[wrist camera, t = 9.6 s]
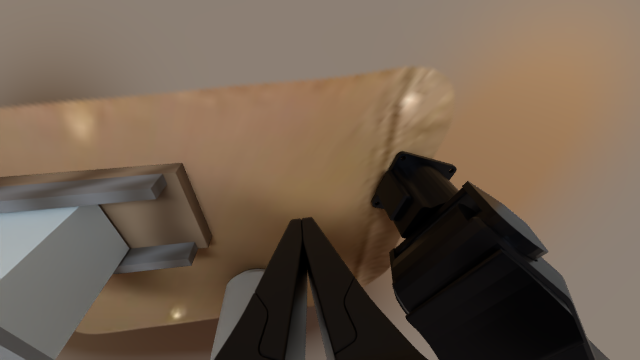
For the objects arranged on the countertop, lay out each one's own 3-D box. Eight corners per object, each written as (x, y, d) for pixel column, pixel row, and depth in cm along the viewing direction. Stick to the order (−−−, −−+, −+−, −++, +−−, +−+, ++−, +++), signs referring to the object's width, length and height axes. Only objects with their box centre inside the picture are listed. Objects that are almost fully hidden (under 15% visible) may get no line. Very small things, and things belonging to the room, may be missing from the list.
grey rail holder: (181, 163, 21) (159, 195, 17) (211, 236, 26) (199, 273, 22) (-27, 179, 19) (-101, 218, 16) (48, 253, 24) (6, 295, 21)
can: (275, 302, 34) (271, 419, 24) (220, 294, 32) (191, 421, 22) (296, 271, 31) (300, 392, 21) (236, 259, 28) (209, 391, 18)
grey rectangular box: (91, 195, 19) (-44, 320, 11) (129, 248, 23) (46, 371, 15) (8, 202, 19) (-191, 338, 11) (61, 255, 22) (-61, 386, 15)
